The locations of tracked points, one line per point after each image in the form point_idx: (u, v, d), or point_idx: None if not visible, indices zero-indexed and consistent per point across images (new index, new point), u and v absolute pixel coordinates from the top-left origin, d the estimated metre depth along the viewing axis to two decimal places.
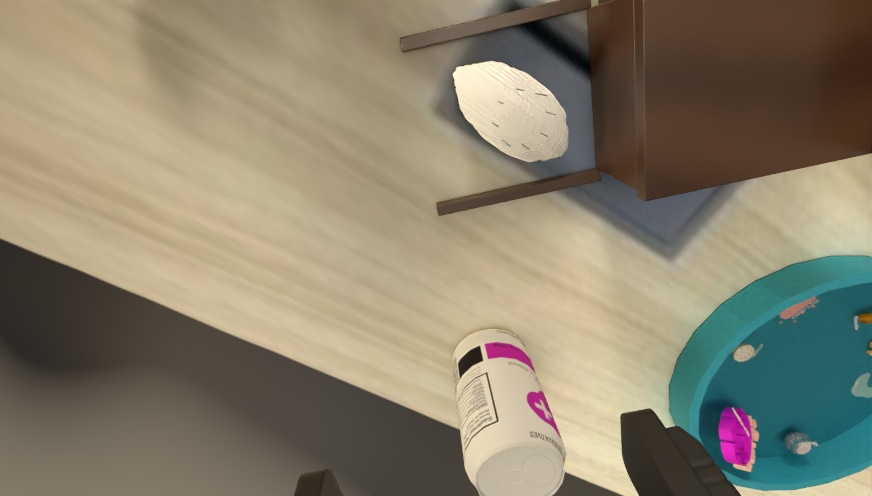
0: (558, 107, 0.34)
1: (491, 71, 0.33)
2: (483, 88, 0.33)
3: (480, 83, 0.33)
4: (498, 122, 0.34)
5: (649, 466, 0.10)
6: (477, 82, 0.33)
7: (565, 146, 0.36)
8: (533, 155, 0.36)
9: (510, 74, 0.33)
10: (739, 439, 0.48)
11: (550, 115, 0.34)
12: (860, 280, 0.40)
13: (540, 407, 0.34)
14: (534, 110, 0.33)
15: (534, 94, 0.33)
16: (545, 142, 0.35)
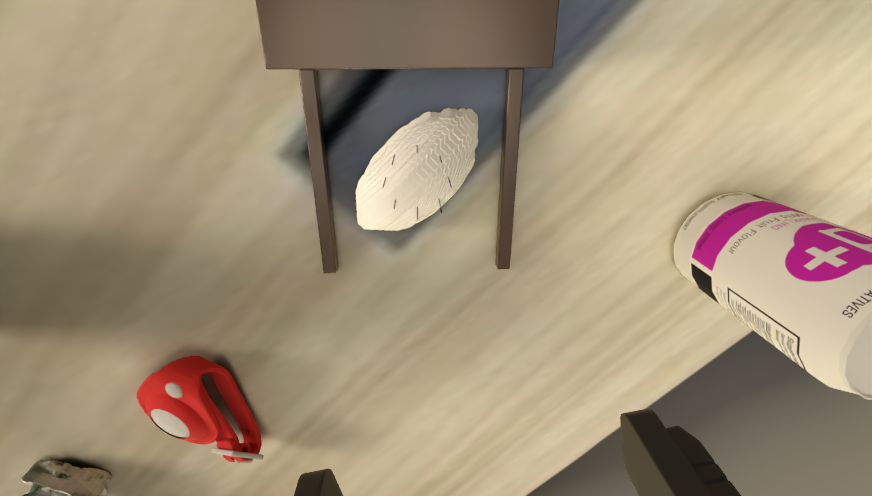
0: (416, 126, 0.28)
1: (365, 196, 0.30)
2: (380, 210, 0.30)
3: (374, 211, 0.30)
4: (418, 200, 0.30)
5: (649, 467, 0.10)
6: (373, 213, 0.30)
7: (465, 116, 0.29)
8: (466, 161, 0.29)
9: (371, 177, 0.29)
10: None
11: (423, 139, 0.28)
12: None
13: (817, 263, 0.23)
14: (412, 160, 0.28)
15: (395, 157, 0.28)
16: (453, 148, 0.28)
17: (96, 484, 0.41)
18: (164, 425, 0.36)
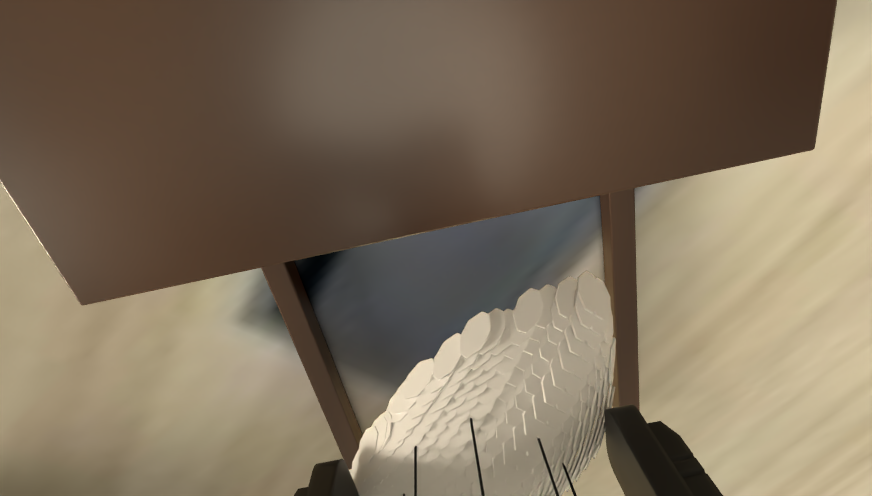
0: (458, 367, 0.10)
1: None
2: None
3: None
4: None
5: (630, 461, 0.10)
6: None
7: (582, 304, 0.11)
8: (600, 407, 0.11)
9: (368, 487, 0.12)
10: None
11: (484, 400, 0.10)
12: None
13: None
14: (465, 458, 0.10)
15: (418, 452, 0.11)
16: (568, 406, 0.10)
17: None
18: None
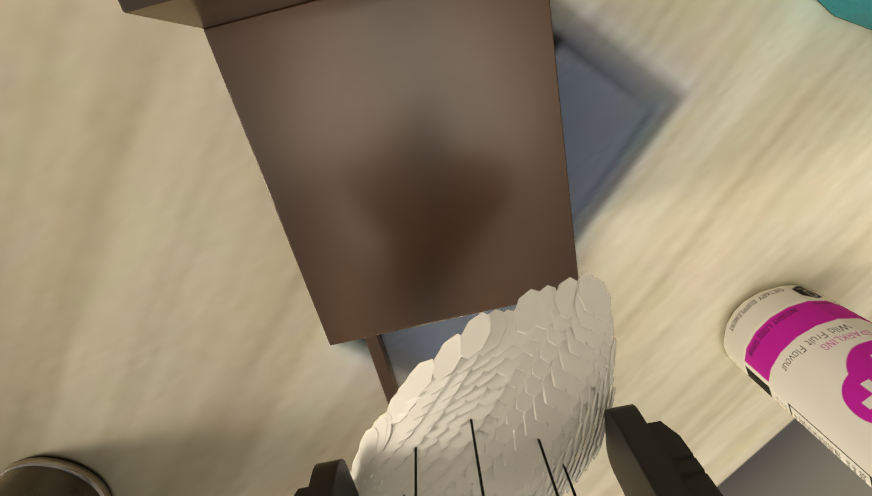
0: (458, 368, 0.10)
1: None
2: None
3: None
4: None
5: (630, 461, 0.10)
6: None
7: (582, 305, 0.11)
8: (600, 408, 0.11)
9: (368, 488, 0.12)
10: None
11: (484, 401, 0.10)
12: None
13: None
14: (466, 459, 0.10)
15: (418, 453, 0.11)
16: (568, 407, 0.10)
17: None
18: None
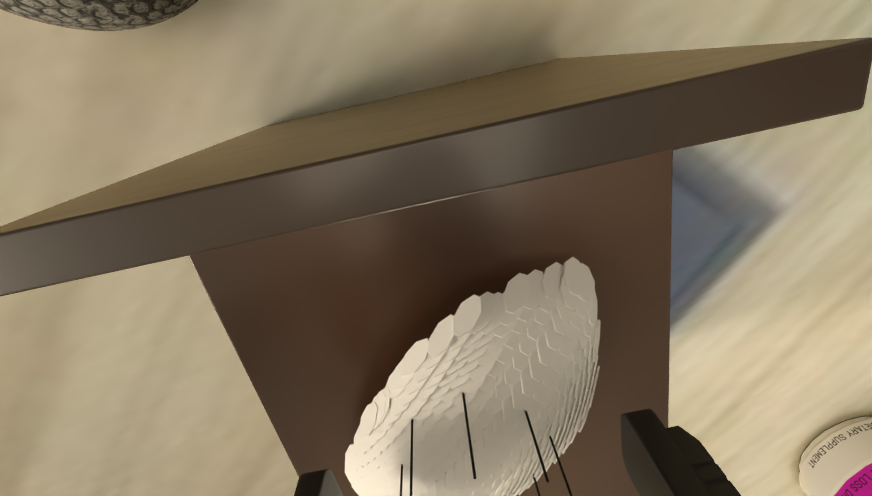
0: (451, 345, 0.11)
1: (366, 484, 0.14)
2: None
3: None
4: None
5: (649, 466, 0.10)
6: None
7: (567, 288, 0.11)
8: (585, 384, 0.12)
9: (369, 459, 0.13)
10: None
11: (475, 375, 0.11)
12: None
13: None
14: (458, 430, 0.11)
15: (414, 424, 0.11)
16: (554, 381, 0.11)
17: None
18: None
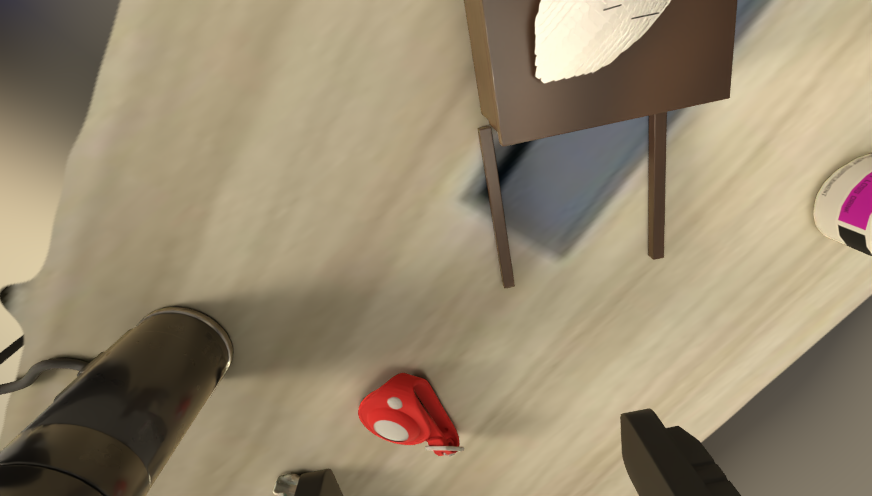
0: None
1: (552, 22, 0.22)
2: (577, 36, 0.22)
3: (568, 41, 0.22)
4: (633, 6, 0.21)
5: (649, 466, 0.10)
6: (566, 46, 0.22)
7: None
8: None
9: None
10: None
11: None
12: None
13: None
14: None
15: None
16: None
17: None
18: (387, 432, 0.44)
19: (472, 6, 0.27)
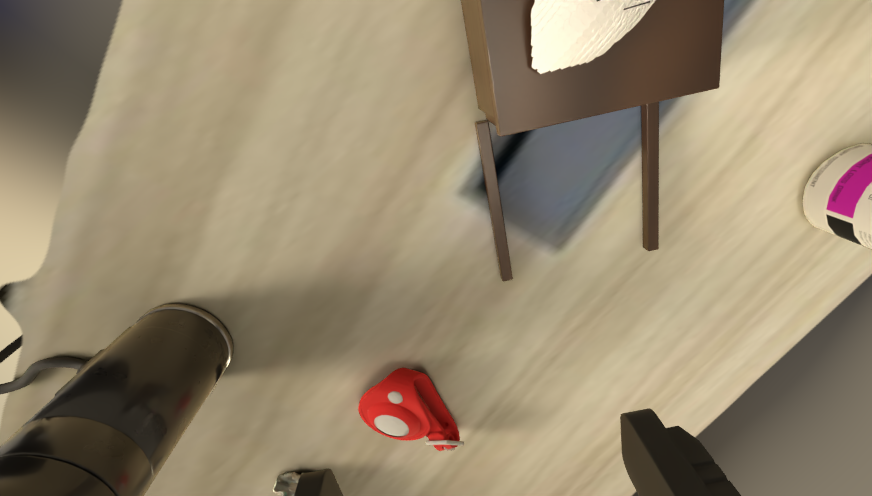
0: None
1: (548, 14, 0.23)
2: (572, 27, 0.22)
3: (563, 32, 0.23)
4: None
5: (649, 466, 0.10)
6: (561, 36, 0.23)
7: None
8: None
9: None
10: None
11: None
12: None
13: None
14: None
15: None
16: None
17: None
18: (388, 427, 0.44)
19: (469, 1, 0.28)
